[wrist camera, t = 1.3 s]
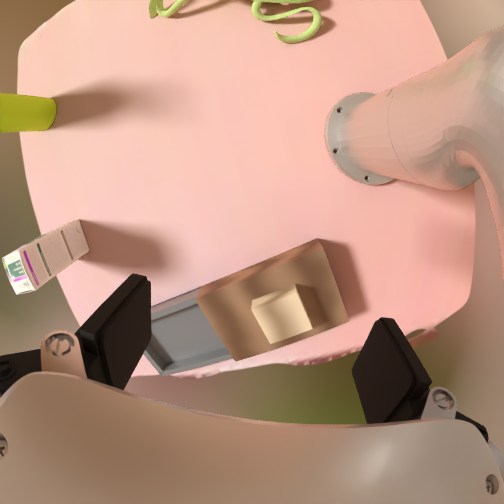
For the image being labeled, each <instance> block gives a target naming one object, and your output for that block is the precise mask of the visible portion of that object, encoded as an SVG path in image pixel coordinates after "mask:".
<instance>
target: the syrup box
mask: <svg viewBox="0 0 504 504" xmlns="http://www.w3.org/2000/svg"><path fill="white" fill-rule="evenodd" d="M87 252H89V247H88V244H87V241H86V238H85V235H84V233H83V230H82V227H81V224H80V221H79V219H78V220H75V221H72V222H69V223H67V224H65V225H62V226H60V227H58V228H56V229H54V230H52V231H50V232H48V233H46V234H44V235H42V236H40V237H38V238H36V239H34V240H33V241H31V242H29V243H27V244H26V245H24V246H22V247H20V248H19V249H17V250H15V251H13V252H12V253H10V254H8V255H6V256H5V257H3V258H2V261H3V265H4V268H5V271H6V274H7V276H8V278H9V280H10V283H11V285H12V287H13V289H14V291H15V292H16V294H22V293H28V292H31V291H35V290H37V289H38V288H39V287H41V286H42V285H43V284H45V283H46V282H47V281H49V280H50V279H51V278H53V277H54V276H55V275H57V274H58V273H59V272H61V271H62V270H63V269H65V268H66V267H68V266H69V265H70V264H72V263H73V262H75V261H76V260H77V259H79V258H80V257H82V256H83V255H84V254H86V253H87Z"/></svg>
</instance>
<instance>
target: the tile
mask: <svg viewBox="0 0 504 504" xmlns="http://www.w3.org/2000/svg"><path fill="white" fill-rule="evenodd" d="M251 310H252V312H253V314H254V316H255V318H256V319H257V321H258V323H259V325H260V327H261V328H262V330H263V332H264V334H265V336H266V337H267V339H268V341H269V343H270V344H272V343H275V342H278V341H281V340H284V339H287V338H290V337H292V336H295V335H298V334H301V333H303V332H306V331H309V330H311V329H313V328H312V324H311V320H310V317H309V315H308V312H307V310H306V308H305V306H304V303H303V301H302V299H301V296H300V294H299V292H298V289H297V287H296V285H295V284H292V285H290V286H287V287H285V288H282V289H280V290H277V291H275V292H272V293H270V294H267V295H265V296H262V297H259V298H257V299H254V300H252V307H251Z"/></svg>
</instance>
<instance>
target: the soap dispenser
mask: <svg viewBox="0 0 504 504" xmlns="http://www.w3.org/2000/svg"><path fill="white" fill-rule="evenodd" d="M56 111H57V107H56V103H55V101H54V100H53V99H51V98H44V97H37V96H28V95H18V94H6V93H0V133H3V132H22V131H45V130H47V129H48V128H49V127H50V126H51V125H52V123H53V121H54V119H55V116H56Z"/></svg>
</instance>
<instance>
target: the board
mask: <svg viewBox="0 0 504 504" xmlns="http://www.w3.org/2000/svg"><path fill="white" fill-rule="evenodd" d="M292 284H295V285H296V287H297V289H298V292H299V294H300V296H301V299H302V301H303V303H304V306H305V308H306V310H307V312H308V315H309V317H310V320H311V324H312V328H313V329H311V330H309V331H306V332H303V333H301V334H298V335H295V336H292V337H290V338H287V339H284V340H281V341H278V342H275V343H272V344H270V343H269V341H268V339H267V337H266V336H265V334H264V332H263V330H262V328H261V327H260V325H259V323H258V321H257V319H256V318H255V316H254V314H253V312H252V310H251V307H252V300H254V299H257V298H259V297H262V296H265V295H267V294H270V293H272V292H275V291H277V290H280V289H282V288H285V287H287V286H290V285H292ZM196 302H197V303H198V305H199V307H200V308H201V310H202V311H203V313H204V315H205V316H206V318H207V319H208V321H209V322H210V324H211V326H212V327H213V329H214V330H215V332H216V333H217V335H218V336H219V338H220V339H221V341H222V342H223V344H224V345H225V347H226V348H227V350H228V351H229V353H230V354H231V356H232V357H233V359H234V360H235V361H239V360H242V359H246V358H249V357H252V356H255V355H259V354H262V353H265V352H268V351H271V350H274V349H277V348H280V347H283V346H286V345H289V344H291V343H294V342H297V341H300V340H303V339H305V338H308V337H311V336H313V335H316V334H319V333H321V332H324V331H326V330H329V329H331V328H334V327H336V326H339V325H341V324H343V323H346V322H348V321H349V319H348V316H347V313H346V310H345V307H344V304H343V301H342V298H341V295H340V292H339V289H338V286H337V283H336V281H335V278H334V275H333V272H332V269H331V267H330V264H329V261H328V259H327V256H326V253H325V251H324V248H323V246H322V245H321V243H320V242H319V240H318V238H317V239H315V240H312V241H310V242H308V243H305V244H303V245H300V246H298V247H296V248H293V249H291V250H289V251H286V252H284V253H281V254H279V255H277V256H274V257H272V258H269V259H267V260H265V261H262V262H260V263H257V264H255V265H253V266H250V267H248V268H245V269H243V270H241V271H238V272H236V273H233V274H231V275H228V276H226V277H224V278H221V279H219V280H216V281H214V282H211V283H209V284H206V285H204V286H201V289H200V291H199V293H198V295H197V297H196Z"/></svg>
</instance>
